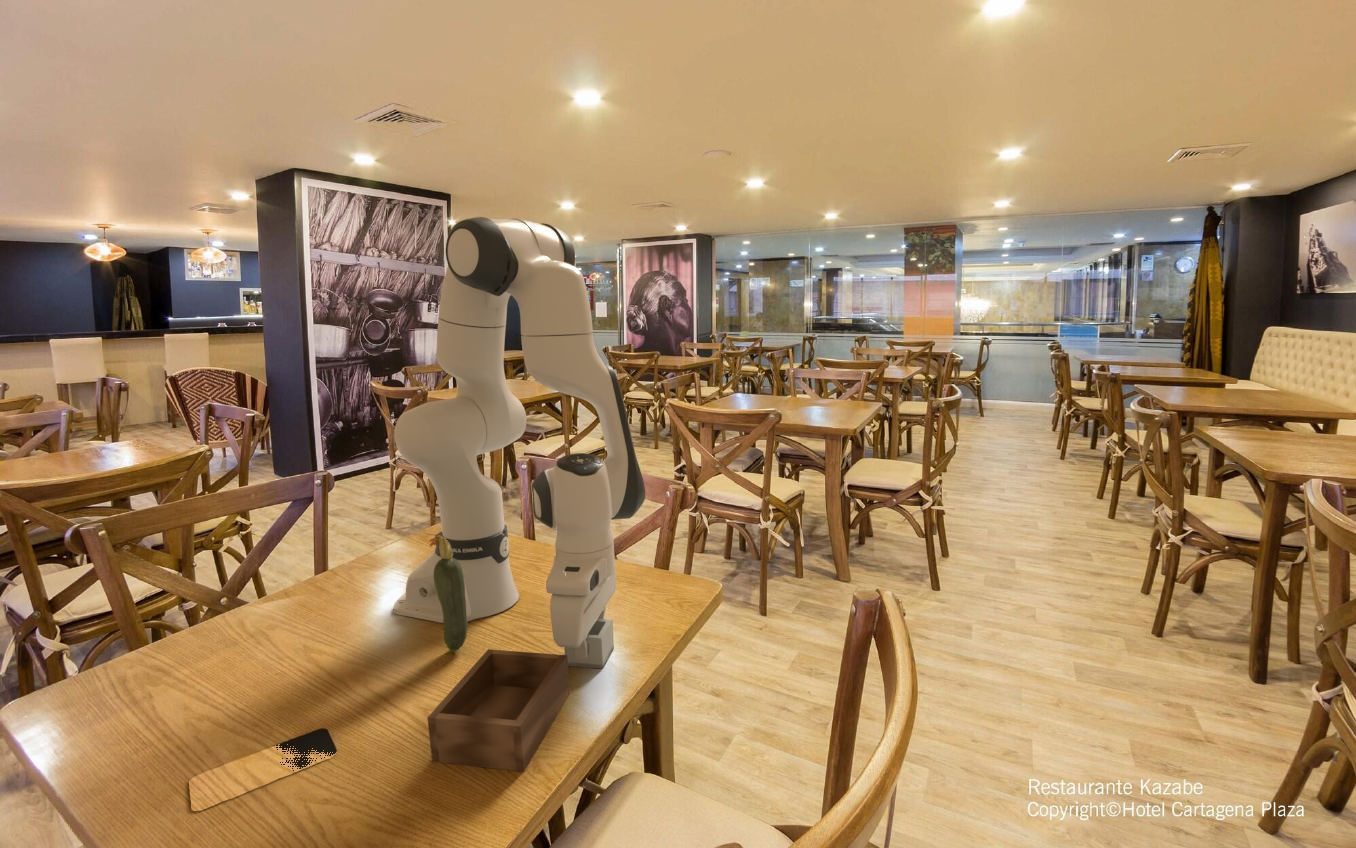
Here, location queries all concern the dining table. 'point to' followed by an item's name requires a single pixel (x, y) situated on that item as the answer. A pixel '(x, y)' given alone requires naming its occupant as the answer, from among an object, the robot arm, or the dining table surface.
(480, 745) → the big crate
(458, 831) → the dining table surface
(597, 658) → the box
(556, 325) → the robot arm
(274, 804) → the dining table surface
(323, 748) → the smartphone
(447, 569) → the vegetable
